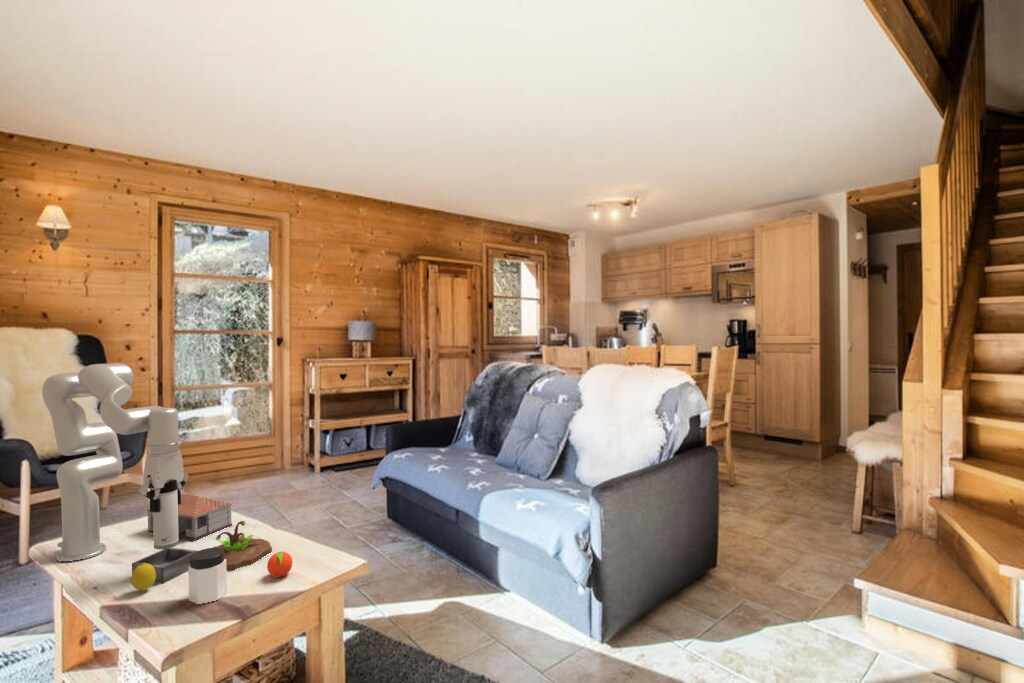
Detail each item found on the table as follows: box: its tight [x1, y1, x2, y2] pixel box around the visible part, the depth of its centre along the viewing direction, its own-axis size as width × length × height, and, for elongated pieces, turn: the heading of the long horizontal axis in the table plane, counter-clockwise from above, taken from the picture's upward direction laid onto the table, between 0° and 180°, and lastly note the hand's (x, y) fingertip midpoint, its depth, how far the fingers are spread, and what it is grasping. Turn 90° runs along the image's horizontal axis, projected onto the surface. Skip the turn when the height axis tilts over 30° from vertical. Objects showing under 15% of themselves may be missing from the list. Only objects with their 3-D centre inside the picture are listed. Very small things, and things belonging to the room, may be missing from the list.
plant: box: [212, 520, 273, 571], centre depth 167 cm, size 20×20×11 cm
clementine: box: [266, 551, 293, 578], centre depth 153 cm, size 8×7×7 cm
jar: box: [187, 547, 228, 605], centre depth 141 cm, size 9×8×12 cm
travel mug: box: [153, 480, 180, 550], centre depth 156 cm, size 6×7×20 cm
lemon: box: [131, 563, 156, 592], centre depth 145 cm, size 6×6×8 cm
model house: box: [147, 493, 233, 542], centre depth 191 cm, size 24×16×15 cm, turn 69°
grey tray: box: [131, 547, 198, 584], centre depth 157 cm, size 12×12×4 cm
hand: (165, 507), depth 156 cm, fingers closed on travel mug, 6 cm apart
